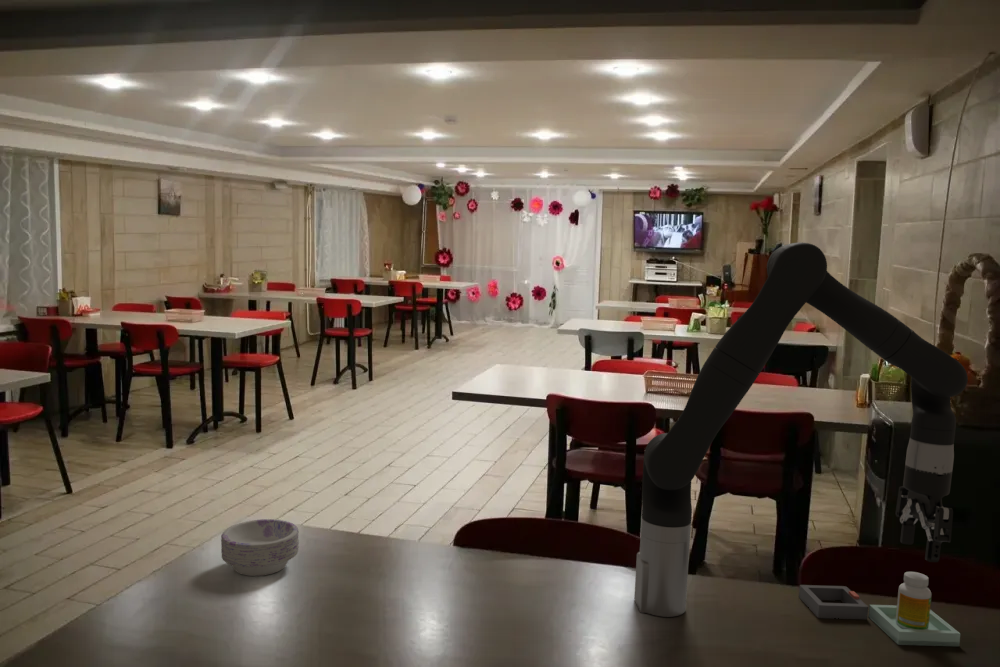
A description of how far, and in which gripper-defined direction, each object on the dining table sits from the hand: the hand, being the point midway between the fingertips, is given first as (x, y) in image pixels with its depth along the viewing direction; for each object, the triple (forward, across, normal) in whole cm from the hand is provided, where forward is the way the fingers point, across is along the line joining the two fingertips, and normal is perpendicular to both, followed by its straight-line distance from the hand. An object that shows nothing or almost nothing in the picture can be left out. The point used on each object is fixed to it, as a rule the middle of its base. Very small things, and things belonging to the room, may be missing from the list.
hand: (918, 552), depth 146 cm
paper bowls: (+18, -20, -125) cm, 127 cm away
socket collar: (+15, -9, -11) cm, 21 cm away
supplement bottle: (+14, 0, 0) cm, 14 cm away
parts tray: (+15, 0, 0) cm, 15 cm away
